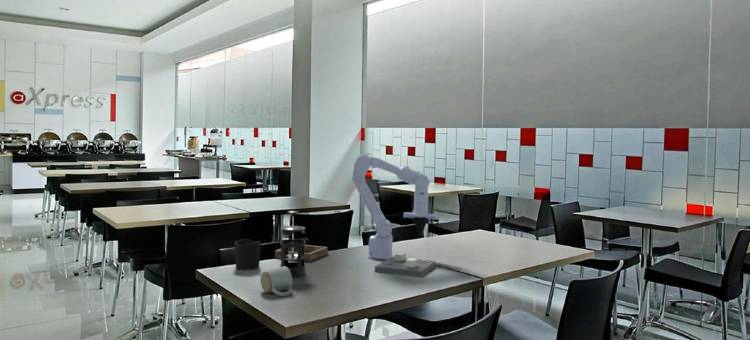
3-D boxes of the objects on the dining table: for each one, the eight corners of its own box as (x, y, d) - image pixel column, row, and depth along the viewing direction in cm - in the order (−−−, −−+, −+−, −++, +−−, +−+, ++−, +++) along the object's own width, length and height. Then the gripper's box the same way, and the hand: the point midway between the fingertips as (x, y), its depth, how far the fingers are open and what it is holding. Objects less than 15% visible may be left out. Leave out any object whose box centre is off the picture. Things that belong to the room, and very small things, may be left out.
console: (374, 271, 207) (374, 266, 207) (391, 261, 224) (391, 256, 224) (421, 276, 200) (421, 271, 200) (435, 266, 217) (435, 261, 217)
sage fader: (394, 260, 216) (394, 254, 215) (398, 258, 220) (398, 252, 220) (401, 261, 214) (401, 255, 214) (405, 259, 219) (405, 252, 218)
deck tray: (275, 257, 228) (275, 250, 228) (295, 250, 243) (295, 243, 243) (309, 261, 222) (309, 254, 222) (327, 254, 237) (327, 247, 237)
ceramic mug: (258, 290, 179) (259, 267, 179) (281, 286, 184) (281, 263, 184) (274, 299, 171) (275, 274, 170) (297, 294, 176) (298, 270, 176)
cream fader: (405, 266, 205) (405, 260, 205) (409, 264, 210) (409, 257, 209) (413, 267, 204) (413, 261, 204) (417, 265, 208) (417, 258, 208)
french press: (311, 274, 201) (312, 211, 200) (289, 278, 195) (290, 213, 193) (293, 268, 210) (294, 208, 208) (272, 272, 204) (272, 210, 202)
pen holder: (258, 264, 217) (258, 238, 216) (261, 269, 208) (261, 243, 207) (233, 265, 214) (233, 239, 213) (235, 271, 205) (235, 244, 204)
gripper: (401, 203, 230) (400, 235, 230) (435, 205, 224) (434, 238, 225) (406, 201, 236) (406, 233, 237) (439, 203, 231) (439, 235, 231)
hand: (420, 235), depth 231 cm, fingers closed
